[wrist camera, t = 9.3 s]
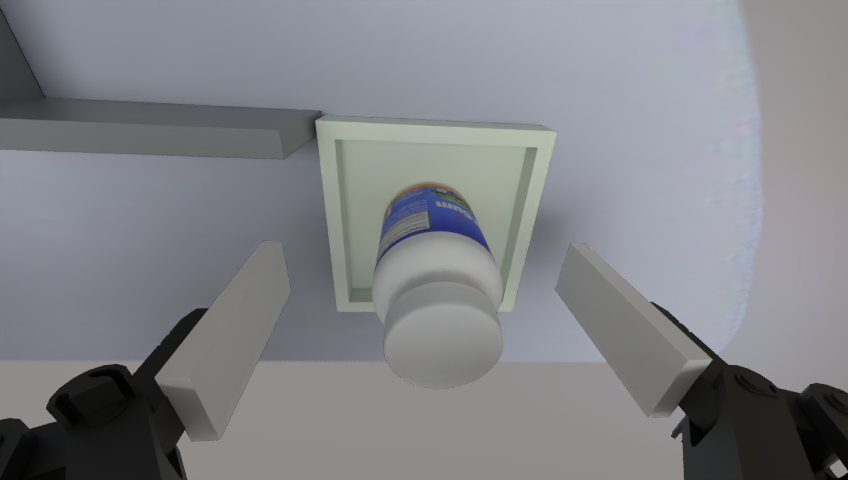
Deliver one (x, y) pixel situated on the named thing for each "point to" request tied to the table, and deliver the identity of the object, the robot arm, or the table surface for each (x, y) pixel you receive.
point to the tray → (427, 163)
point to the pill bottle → (436, 289)
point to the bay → (137, 121)
